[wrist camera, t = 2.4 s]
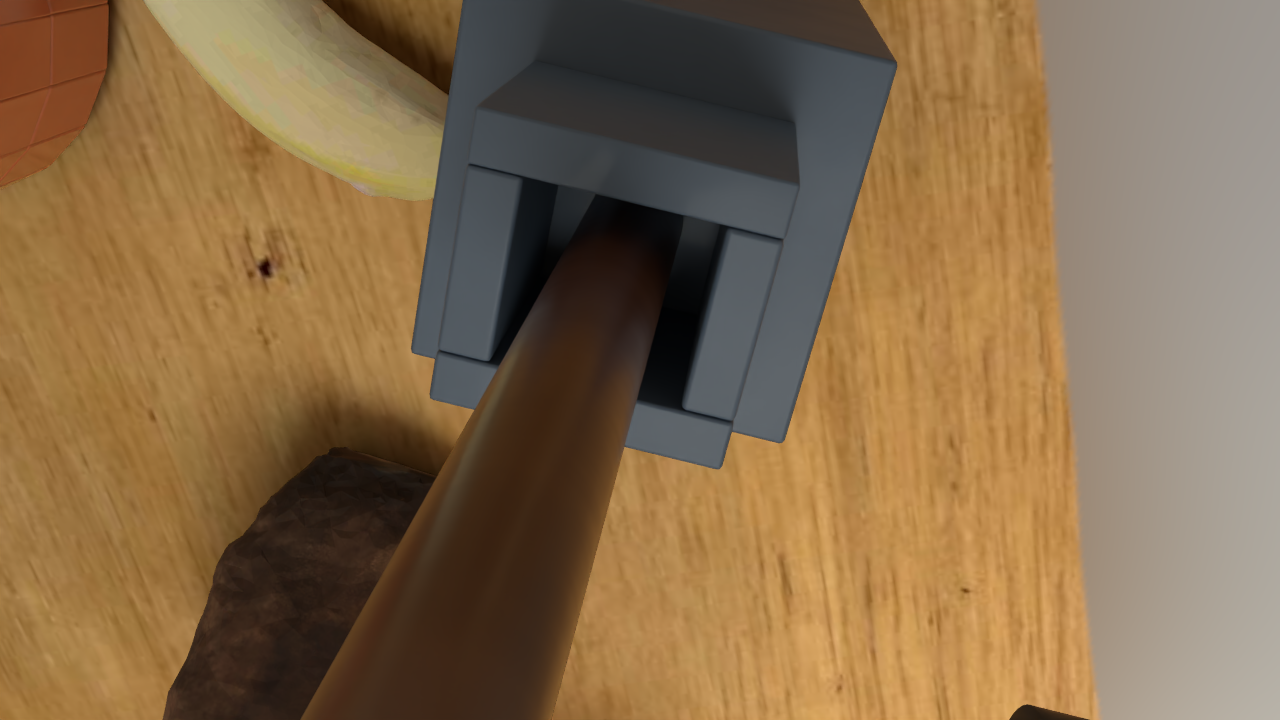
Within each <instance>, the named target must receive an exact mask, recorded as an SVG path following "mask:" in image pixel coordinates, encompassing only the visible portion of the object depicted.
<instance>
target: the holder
mask: <svg viewBox="0 0 1280 720" xmlns="http://www.w3.org/2000/svg"><path fill="white" fill-rule="evenodd" d="M896 69H897V62H896V60H895V59H894V57H893V55H892V54H891V52H890V50H889V49H888V47H887V45H886V44H885V42H884V41H883V39H882V37H881V36H880V34H879V32H878V31H877V29H876V28H875V26H874V24H873V23H872V21H871V19H870V18H869V16H868V14H867V13H866V11H865V10H864V8H863V6H862V5H861V3H860V1H859V0H463V3H462V10H461V17H460V24H459V30H458V37H457V44H456V50H455V57H454V64H453V71H452V77H451V84H450V91H449V97H448V104H447V111H446V117H445V124H444V131H443V138H442V144H441V151H440V158H439V164H438V171H437V178H436V185H435V191H434V198H433V205H432V211H431V218H430V225H429V232H428V238H427V245H426V252H425V258H424V265H423V272H422V279H421V285H420V292H419V299H418V305H417V312H416V319H415V325H414V332H413V339H412V346H411V350H412V353H414V354H417V355H421V356H426V357H430V358H434V359H435V364H434V370H433V376H432V383H431V389H430V398H431V399H433V400H437V401H441V402H445V403H449V404H453V405H457V406H461V407H465V408H469V409H473V410H475V408H476V406H477V405H478V403H479V401H480V399H481V398H482V396H483V394H484V392H485V390H486V389H487V387H488V385H489V383H490V382H491V380H492V378H493V376H494V374H495V373H496V371H497V369H498V367H499V366H500V364H501V362H502V360H503V358H504V357H505V355H506V353H507V351H508V350H509V348H510V346H511V344H512V342H513V341H514V339H515V337H516V335H517V333H518V332H519V330H520V328H521V326H522V325H523V323H524V321H525V319H526V317H527V316H528V314H529V312H530V310H531V309H532V307H533V305H534V303H535V301H536V300H537V298H538V296H539V294H540V293H541V291H542V289H543V287H544V285H545V284H546V282H547V280H548V278H549V277H550V275H551V273H552V271H553V269H554V268H555V266H556V264H557V262H558V261H559V259H560V257H561V255H562V253H563V252H564V250H565V248H566V246H567V245H568V243H569V241H570V239H571V237H572V236H573V234H574V232H575V230H576V229H577V227H578V225H579V223H580V221H581V220H582V218H583V216H584V214H585V213H586V211H587V209H588V207H589V205H590V204H591V202H592V200H593V198H594V197H595V195H596V194H598V195H602V196H606V197H610V198H614V199H618V200H622V201H627V202H631V203H635V204H639V205H643V206H647V207H651V208H655V209H660V210H664V211H668V212H672V213H676V214H680V215H683V228H682V233H681V236H680V240H679V244H678V248H677V251H676V255H675V259H674V263H673V266H672V270H671V274H670V278H669V281H668V285H667V289H666V293H665V296H664V300H663V304H662V308H661V311H660V315H659V319H658V323H657V326H656V330H655V334H654V338H653V341H652V345H651V349H650V352H649V356H648V360H647V364H646V367H645V371H644V375H643V379H642V382H641V386H640V390H639V394H638V397H637V401H636V405H635V409H634V412H633V416H632V420H631V424H630V427H629V431H628V435H627V439H626V442H625V446H624V447H628V448H632V449H636V450H640V451H644V452H648V453H652V454H657V455H661V456H665V457H669V458H673V459H677V460H681V461H685V462H689V463H693V464H697V465H701V466H705V467H709V468H714V469H720V468H721V467H722V465H723V461H724V458H725V454H726V450H727V447H728V443H729V440H730V436H731V433H732V432H736V433H740V434H744V435H748V436H752V437H756V438H760V439H764V440H768V441H772V442H776V443H782V442H783V441H784V440H785V437H786V434H787V431H788V427H789V424H790V421H791V417H792V414H793V411H794V407H795V404H796V401H797V397H798V394H799V391H800V387H801V384H802V381H803V378H804V374H805V371H806V368H807V364H808V361H809V358H810V354H811V351H812V348H813V344H814V341H815V338H816V334H817V331H818V328H819V325H820V321H821V318H822V315H823V311H824V308H825V305H826V301H827V298H828V295H829V291H830V288H831V285H832V281H833V278H834V275H835V272H836V268H837V265H838V262H839V258H840V255H841V252H842V248H843V245H844V242H845V238H846V235H847V232H848V228H849V225H850V222H851V219H852V215H853V212H854V209H855V205H856V202H857V199H858V195H859V192H860V189H861V185H862V182H863V179H864V175H865V172H866V169H867V166H868V162H869V159H870V156H871V152H872V149H873V146H874V142H875V139H876V136H877V132H878V129H879V126H880V122H881V119H882V116H883V113H884V109H885V106H886V103H887V99H888V96H889V93H890V89H891V86H892V83H893V79H894V76H895V73H896Z"/></svg>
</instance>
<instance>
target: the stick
mask: <svg viewBox="0 0 1280 720" xmlns="http://www.w3.org/2000/svg"><path fill="white" fill-rule="evenodd" d="M682 228H683V215H680V214H676V213H672V212H668V211H664V210H660V209H655V208H651V207H647V206H643V205H639V204H635V203H631V202H627V201H622V200H618V199H614V198H610V197H606V196H602V195H598V194H596V195H595V197H594V198H593V200H592V202H591V204H590V205H589V207H588V209H587V211H586V213H585V214H584V216H583V218H582V220H581V221H580V223H579V225H578V227H577V229H576V230H575V232H574V234H573V236H572V237H571V239H570V241H569V243H568V245H567V246H566V248H565V250H564V252H563V253H562V255H561V257H560V259H559V261H558V262H557V264H556V266H555V268H554V269H553V271H552V273H551V275H550V277H549V278H548V280H547V282H546V284H545V285H544V287H543V289H542V291H541V293H540V294H539V296H538V298H537V300H536V301H535V303H534V305H533V307H532V309H531V310H530V312H529V314H528V316H527V317H526V319H525V321H524V323H523V325H522V326H521V328H520V330H519V332H518V333H517V335H516V337H515V339H514V341H513V342H512V344H511V346H510V348H509V350H508V351H507V353H506V355H505V357H504V358H503V360H502V362H501V364H500V366H499V367H498V369H497V371H496V373H495V374H494V376H493V378H492V380H491V382H490V383H489V385H488V387H487V389H486V390H485V392H484V394H483V396H482V398H481V399H480V401H479V403H478V405H477V406H476V408H475V410H474V412H473V414H472V415H471V417H470V419H469V421H468V422H467V424H466V426H465V428H464V430H463V431H462V433H461V435H460V437H459V438H458V440H457V442H456V444H455V446H454V447H453V449H452V451H451V453H450V454H449V456H448V458H447V460H446V462H445V463H444V465H443V467H442V469H441V470H440V472H439V474H438V476H437V478H436V479H435V481H434V483H433V485H432V486H431V488H430V490H429V492H428V494H427V495H426V497H425V499H424V501H423V502H422V504H421V506H420V508H419V510H418V511H417V513H416V515H415V517H414V518H413V520H412V522H411V524H410V526H409V527H408V529H407V531H406V533H405V534H404V536H403V538H402V540H401V542H400V543H399V545H398V547H397V549H396V550H395V552H394V554H393V556H392V558H391V559H390V561H389V563H388V565H387V566H386V568H385V570H384V572H383V574H382V575H381V577H380V579H379V581H378V582H377V584H376V586H375V588H374V590H373V591H372V593H371V595H370V597H369V598H368V600H367V602H366V604H365V606H364V607H363V609H362V611H361V613H360V614H359V616H358V618H357V620H356V622H355V623H354V625H353V627H352V629H351V630H350V632H349V634H348V636H347V638H346V639H345V641H344V643H343V645H342V646H341V648H340V650H339V652H338V654H337V655H336V657H335V659H334V661H333V662H332V664H331V666H330V668H329V670H328V671H327V673H326V675H325V677H324V678H323V680H322V682H321V684H320V686H319V687H318V689H317V691H316V693H315V694H314V696H313V698H312V700H311V702H310V703H309V705H308V707H307V709H306V710H305V712H304V714H303V716H302V718H301V719H300V720H551V719H552V716H553V712H554V708H555V704H556V701H557V697H558V693H559V689H560V686H561V682H562V678H563V674H564V671H565V667H566V663H567V659H568V656H569V652H570V648H571V644H572V641H573V637H574V633H575V630H576V626H577V622H578V618H579V615H580V611H581V607H582V603H583V600H584V596H585V592H586V588H587V585H588V581H589V577H590V573H591V570H592V566H593V562H594V558H595V555H596V551H597V547H598V543H599V540H600V536H601V532H602V528H603V525H604V521H605V517H606V513H607V510H608V506H609V502H610V498H611V495H612V491H613V487H614V484H615V480H616V476H617V472H618V469H619V465H620V461H621V457H622V454H623V450H624V446H625V442H626V439H627V435H628V431H629V427H630V424H631V420H632V416H633V412H634V409H635V405H636V401H637V397H638V394H639V390H640V386H641V382H642V379H643V375H644V371H645V367H646V364H647V360H648V356H649V352H650V349H651V345H652V341H653V338H654V334H655V330H656V326H657V323H658V319H659V315H660V311H661V308H662V304H663V300H664V296H665V293H666V289H667V285H668V281H669V278H670V274H671V270H672V266H673V263H674V259H675V255H676V251H677V248H678V244H679V240H680V236H681V233H682Z"/></svg>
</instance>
